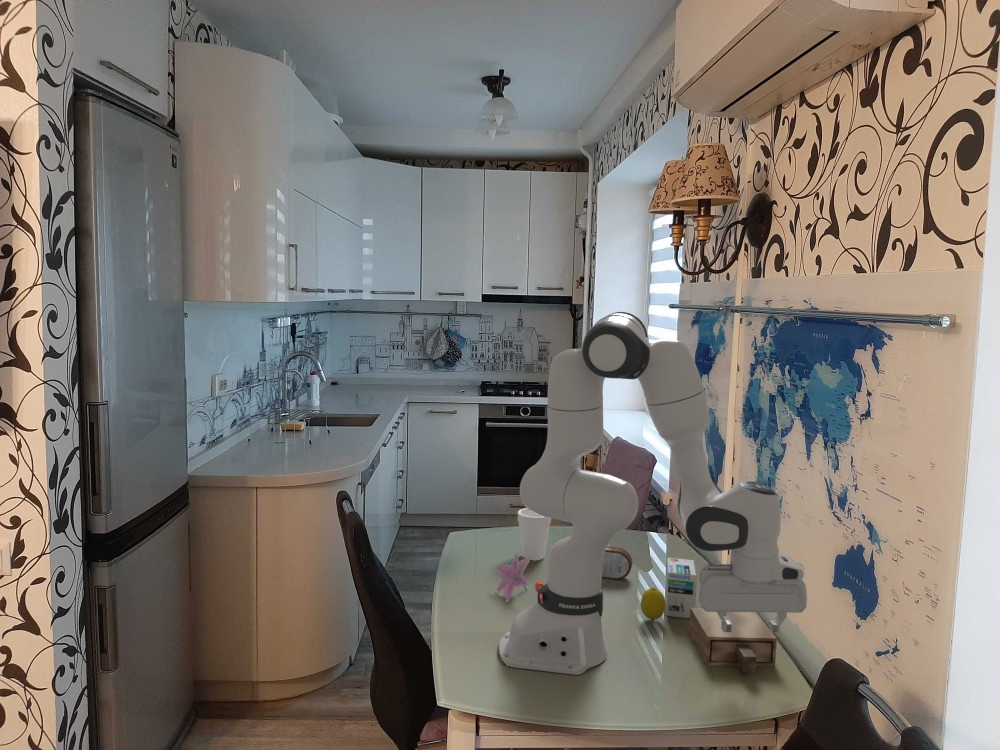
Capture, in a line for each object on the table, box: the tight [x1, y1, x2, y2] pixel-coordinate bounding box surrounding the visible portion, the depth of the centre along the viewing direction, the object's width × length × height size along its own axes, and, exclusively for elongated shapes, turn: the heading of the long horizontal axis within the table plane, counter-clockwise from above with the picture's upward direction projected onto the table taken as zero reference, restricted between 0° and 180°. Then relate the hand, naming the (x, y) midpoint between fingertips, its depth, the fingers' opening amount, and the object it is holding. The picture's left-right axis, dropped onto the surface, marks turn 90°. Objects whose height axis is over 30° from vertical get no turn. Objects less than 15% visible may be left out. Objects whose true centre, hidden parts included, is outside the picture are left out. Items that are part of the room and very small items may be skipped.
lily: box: [496, 552, 531, 602], centre depth 183 cm, size 12×12×10 cm
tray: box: [710, 640, 771, 672], centre depth 153 cm, size 12×18×4 cm, turn 0°
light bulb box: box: [665, 557, 698, 619], centre depth 175 cm, size 11×7×11 cm, turn 168°
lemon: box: [640, 587, 666, 622], centre depth 169 cm, size 6×6×8 cm
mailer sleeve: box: [688, 607, 778, 667], centre depth 156 cm, size 14×14×6 cm
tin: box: [601, 545, 633, 581], centre depth 194 cm, size 15×3×8 cm, turn 77°
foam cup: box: [517, 507, 552, 561], centre depth 208 cm, size 10×9×13 cm
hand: (750, 630), depth 145 cm, fingers open, 8 cm apart
